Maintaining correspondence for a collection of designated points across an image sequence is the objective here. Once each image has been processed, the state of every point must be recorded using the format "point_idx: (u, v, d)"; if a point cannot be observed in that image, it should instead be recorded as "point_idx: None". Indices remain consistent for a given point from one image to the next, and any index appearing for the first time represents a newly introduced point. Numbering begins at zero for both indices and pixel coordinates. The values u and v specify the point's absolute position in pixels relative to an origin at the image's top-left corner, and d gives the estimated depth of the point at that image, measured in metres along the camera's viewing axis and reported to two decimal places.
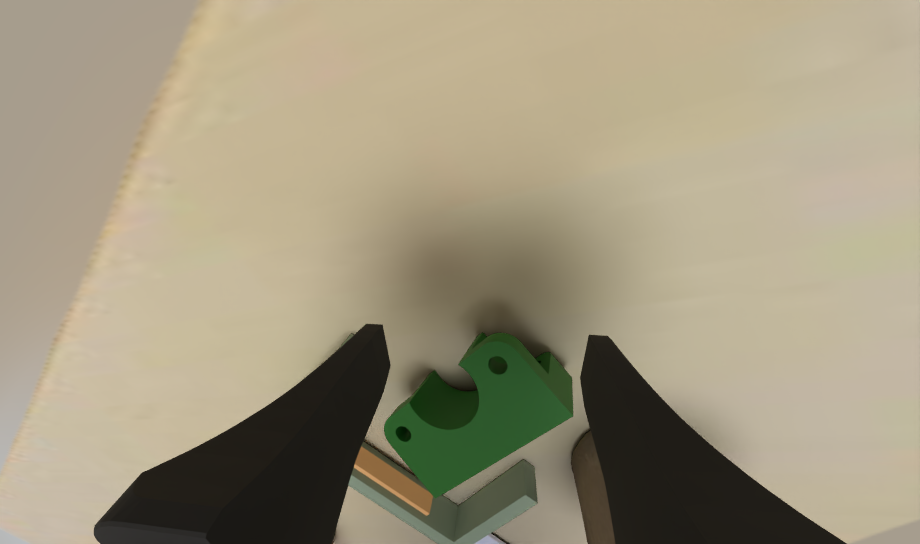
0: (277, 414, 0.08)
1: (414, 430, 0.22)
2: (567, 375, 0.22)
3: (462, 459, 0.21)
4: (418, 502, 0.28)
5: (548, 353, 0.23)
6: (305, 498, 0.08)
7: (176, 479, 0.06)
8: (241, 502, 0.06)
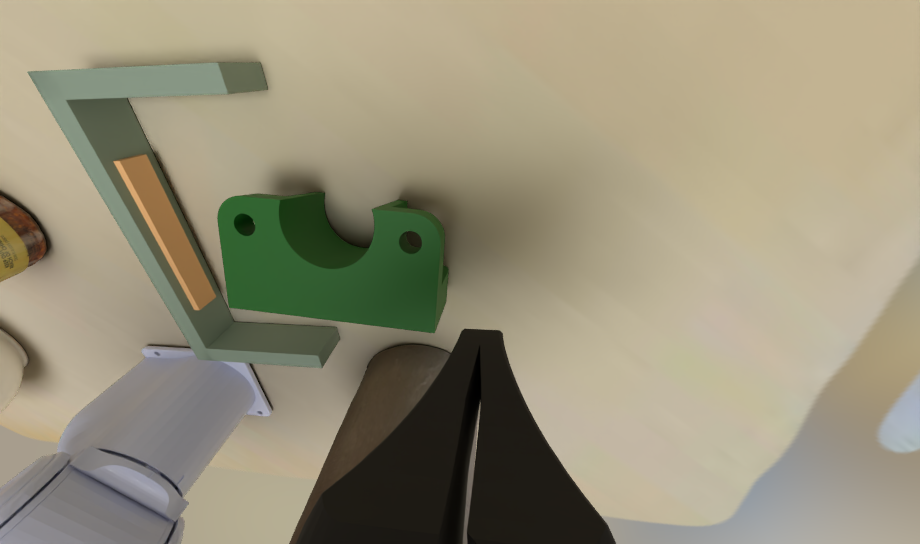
0: (423, 427, 0.08)
1: (261, 231, 0.17)
2: (445, 296, 0.21)
3: (292, 294, 0.18)
4: (194, 293, 0.23)
5: (445, 267, 0.21)
6: (457, 516, 0.07)
7: (365, 501, 0.06)
8: (442, 526, 0.05)
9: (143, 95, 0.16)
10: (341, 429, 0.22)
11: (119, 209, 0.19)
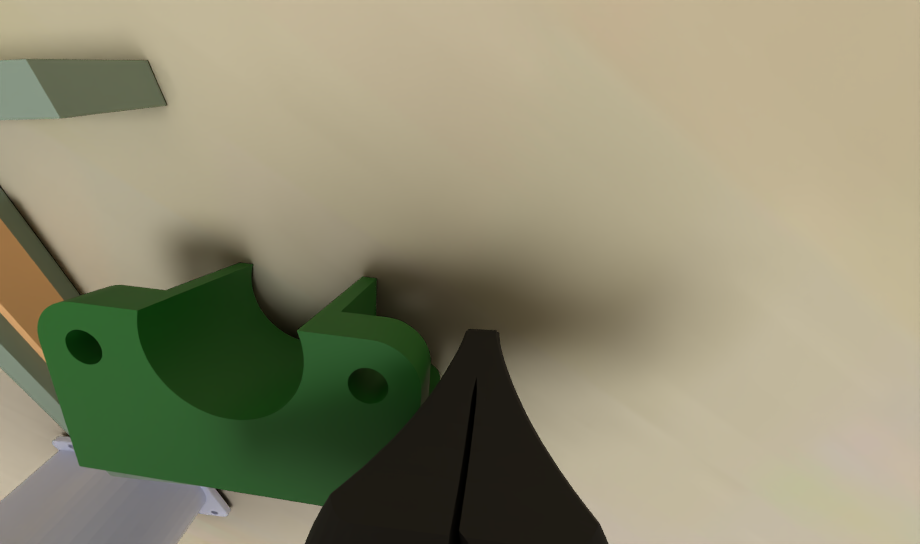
0: (429, 427, 0.08)
1: (113, 358, 0.10)
2: None
3: (177, 453, 0.11)
4: None
5: (436, 372, 0.14)
6: None
7: (374, 502, 0.06)
8: None
9: None
10: None
11: None
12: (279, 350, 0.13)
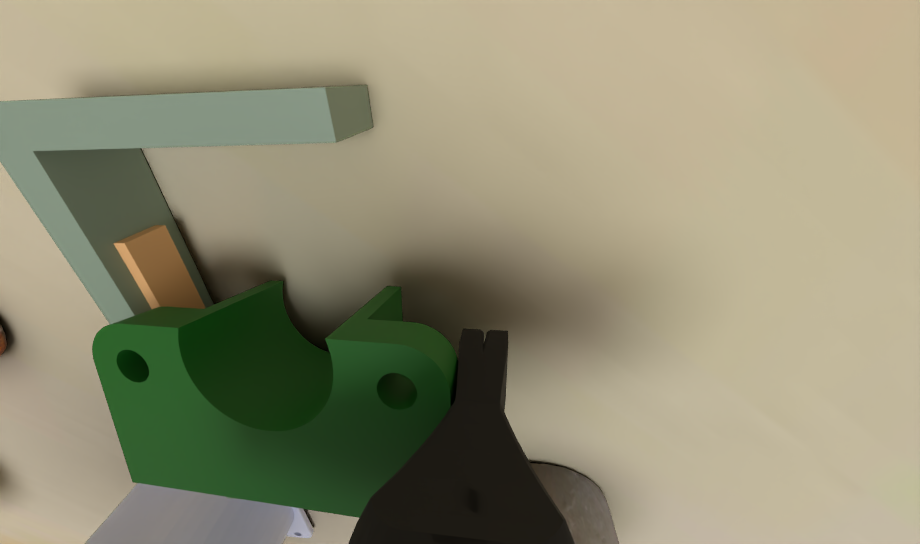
0: (461, 430, 0.08)
1: (159, 375, 0.10)
2: None
3: (219, 467, 0.11)
4: None
5: None
6: None
7: (416, 507, 0.06)
8: None
9: (176, 144, 0.09)
10: None
11: (121, 315, 0.12)
12: (311, 363, 0.14)
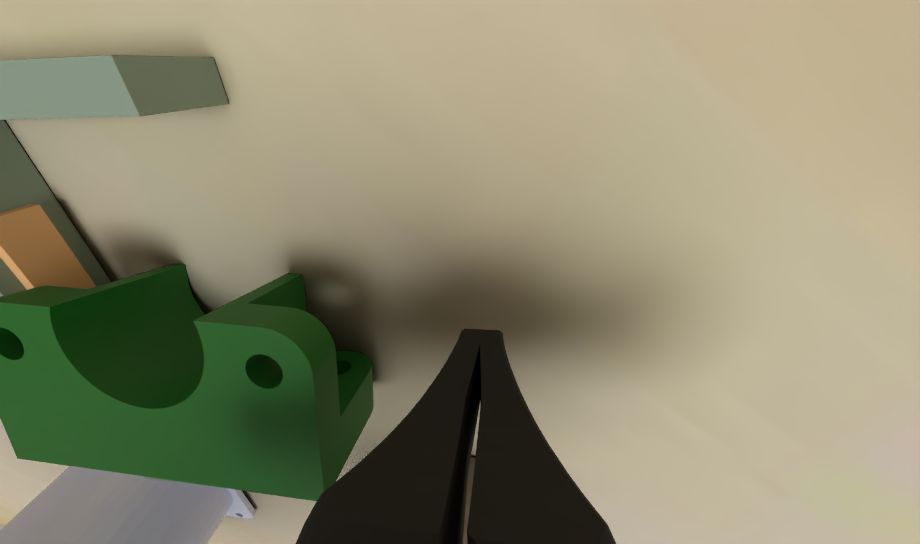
0: (423, 427, 0.08)
1: (34, 353, 0.10)
2: (369, 407, 0.15)
3: (102, 443, 0.11)
4: None
5: (369, 363, 0.15)
6: (457, 516, 0.07)
7: (365, 501, 0.06)
8: (442, 526, 0.05)
9: None
10: None
11: None
12: None
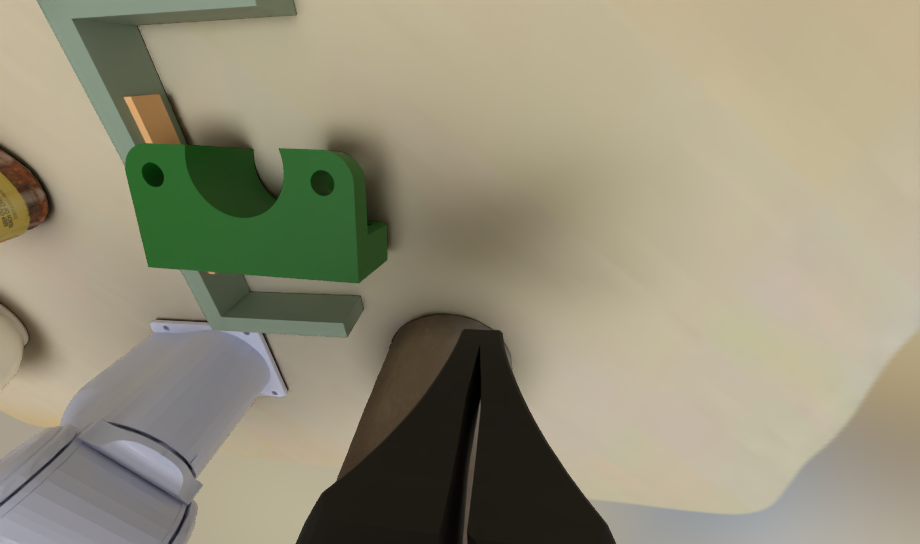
0: (423, 427, 0.08)
1: (170, 180, 0.16)
2: (385, 254, 0.20)
3: (210, 248, 0.17)
4: None
5: (384, 224, 0.20)
6: (457, 516, 0.07)
7: (365, 501, 0.06)
8: (442, 526, 0.05)
9: (159, 10, 0.14)
10: (371, 401, 0.20)
11: None
12: None
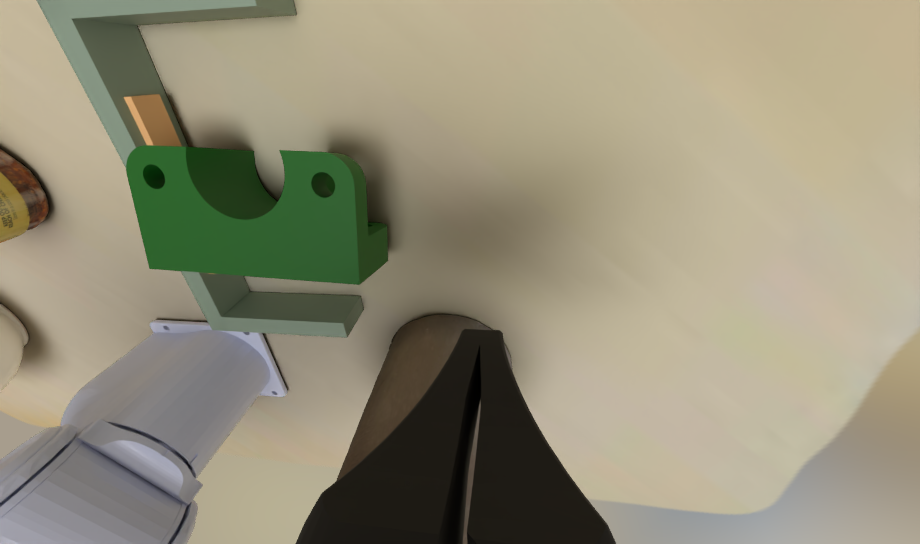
0: (423, 427, 0.08)
1: (171, 182, 0.16)
2: (385, 255, 0.20)
3: (211, 250, 0.17)
4: None
5: (384, 225, 0.20)
6: (457, 516, 0.07)
7: (365, 501, 0.06)
8: (442, 526, 0.05)
9: (159, 10, 0.14)
10: (371, 401, 0.20)
11: None
12: None
